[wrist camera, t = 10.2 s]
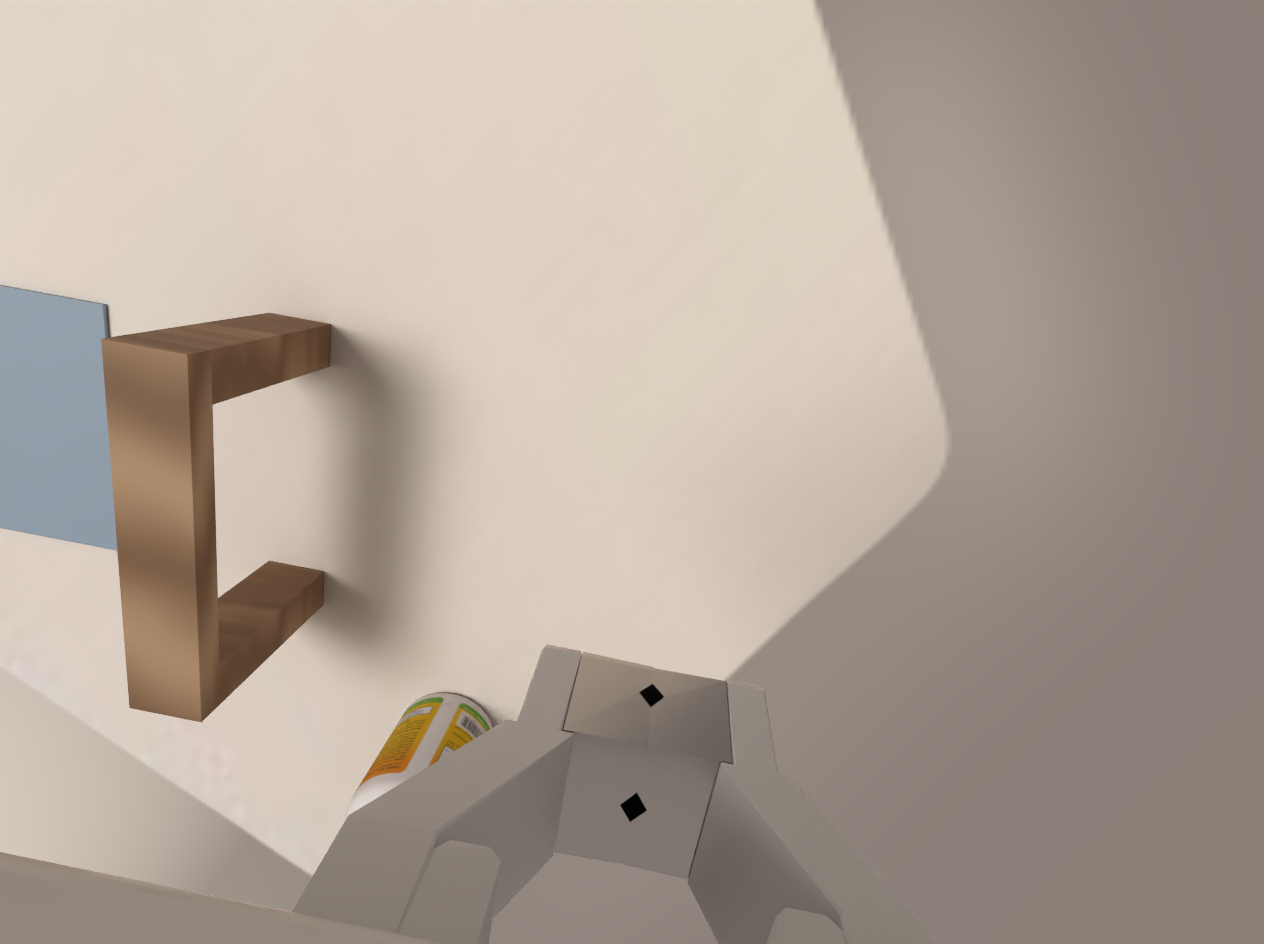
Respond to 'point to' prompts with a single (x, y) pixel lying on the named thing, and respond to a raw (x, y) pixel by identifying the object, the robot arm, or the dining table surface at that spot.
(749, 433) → the dining table surface
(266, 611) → the bridge
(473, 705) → the supplement bottle
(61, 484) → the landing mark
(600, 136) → the dining table surface
